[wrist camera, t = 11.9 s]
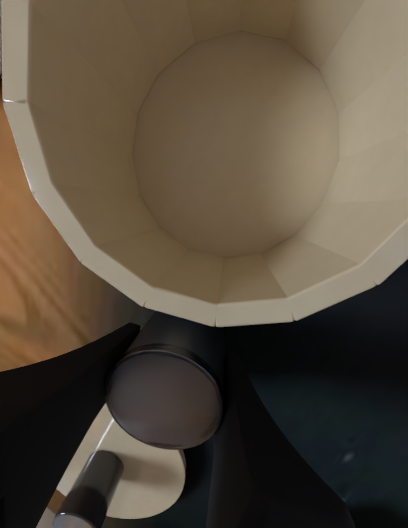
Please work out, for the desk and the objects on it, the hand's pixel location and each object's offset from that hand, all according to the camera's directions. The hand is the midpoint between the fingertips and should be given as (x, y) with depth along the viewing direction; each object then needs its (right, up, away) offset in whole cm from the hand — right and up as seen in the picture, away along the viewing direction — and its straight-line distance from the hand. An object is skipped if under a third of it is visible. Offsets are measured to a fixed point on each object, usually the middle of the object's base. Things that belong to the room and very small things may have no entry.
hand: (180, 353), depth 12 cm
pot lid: (-5, -9, +4) cm, 11 cm away
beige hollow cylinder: (+3, +10, -1) cm, 10 cm away
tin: (0, 0, +1) cm, 1 cm away
